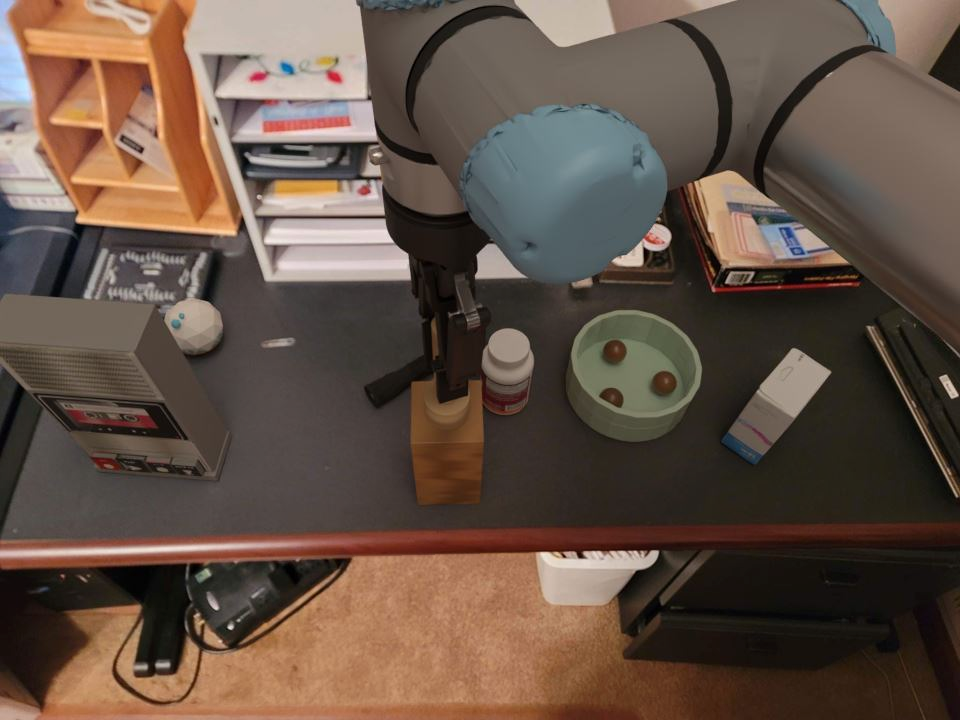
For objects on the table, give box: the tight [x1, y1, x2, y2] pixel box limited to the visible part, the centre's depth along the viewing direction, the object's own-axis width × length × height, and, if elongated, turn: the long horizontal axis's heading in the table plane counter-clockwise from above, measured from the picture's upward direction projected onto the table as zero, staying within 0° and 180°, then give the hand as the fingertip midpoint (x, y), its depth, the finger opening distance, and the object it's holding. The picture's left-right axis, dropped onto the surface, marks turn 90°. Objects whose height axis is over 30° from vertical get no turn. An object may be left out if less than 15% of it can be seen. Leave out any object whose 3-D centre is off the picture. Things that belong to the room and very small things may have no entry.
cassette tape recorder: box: [0, 293, 233, 482], centre depth 71 cm, size 14×6×25 cm, turn 86°
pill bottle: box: [479, 327, 535, 416], centre depth 82 cm, size 6×6×11 cm
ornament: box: [163, 297, 224, 356], centre depth 87 cm, size 7×7×8 cm
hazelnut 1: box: [603, 340, 627, 363], centre depth 88 cm, size 3×3×3 cm
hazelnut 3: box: [652, 371, 677, 395], centre depth 86 cm, size 3×3×3 cm
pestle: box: [423, 317, 470, 430], centre depth 62 cm, size 4×4×14 cm
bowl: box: [564, 309, 703, 443], centre depth 85 cm, size 15×15×6 cm
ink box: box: [720, 347, 832, 466], centre depth 80 cm, size 9×5×12 cm, turn 137°
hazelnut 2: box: [599, 387, 624, 408], centre depth 84 cm, size 3×3×3 cm
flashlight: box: [363, 354, 434, 408], centre depth 87 cm, size 3×16×3 cm, turn 127°
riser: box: [409, 379, 485, 506], centre depth 74 cm, size 7×7×15 cm
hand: (446, 380), depth 63 cm, fingers open, 3 cm apart
